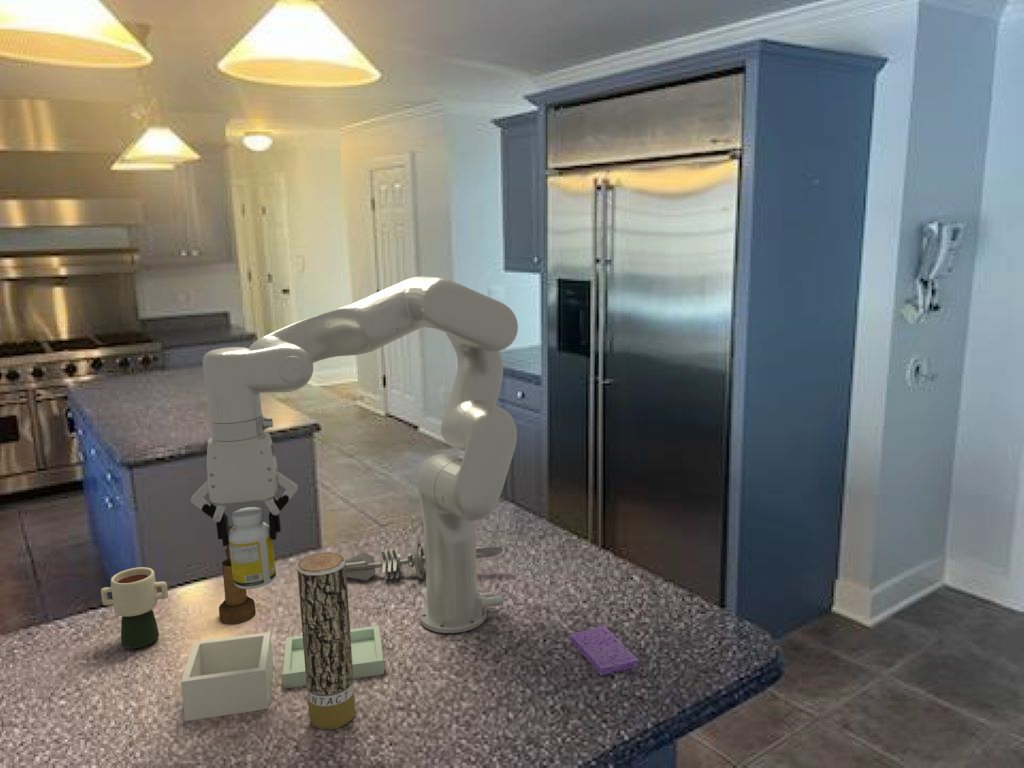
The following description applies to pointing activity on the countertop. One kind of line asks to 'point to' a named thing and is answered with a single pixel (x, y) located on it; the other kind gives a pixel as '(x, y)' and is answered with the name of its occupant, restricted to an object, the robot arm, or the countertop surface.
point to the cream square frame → (228, 676)
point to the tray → (363, 656)
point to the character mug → (135, 604)
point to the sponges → (603, 650)
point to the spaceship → (399, 562)
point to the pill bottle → (251, 549)
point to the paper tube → (326, 639)
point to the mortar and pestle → (234, 597)
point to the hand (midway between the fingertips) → (250, 538)
